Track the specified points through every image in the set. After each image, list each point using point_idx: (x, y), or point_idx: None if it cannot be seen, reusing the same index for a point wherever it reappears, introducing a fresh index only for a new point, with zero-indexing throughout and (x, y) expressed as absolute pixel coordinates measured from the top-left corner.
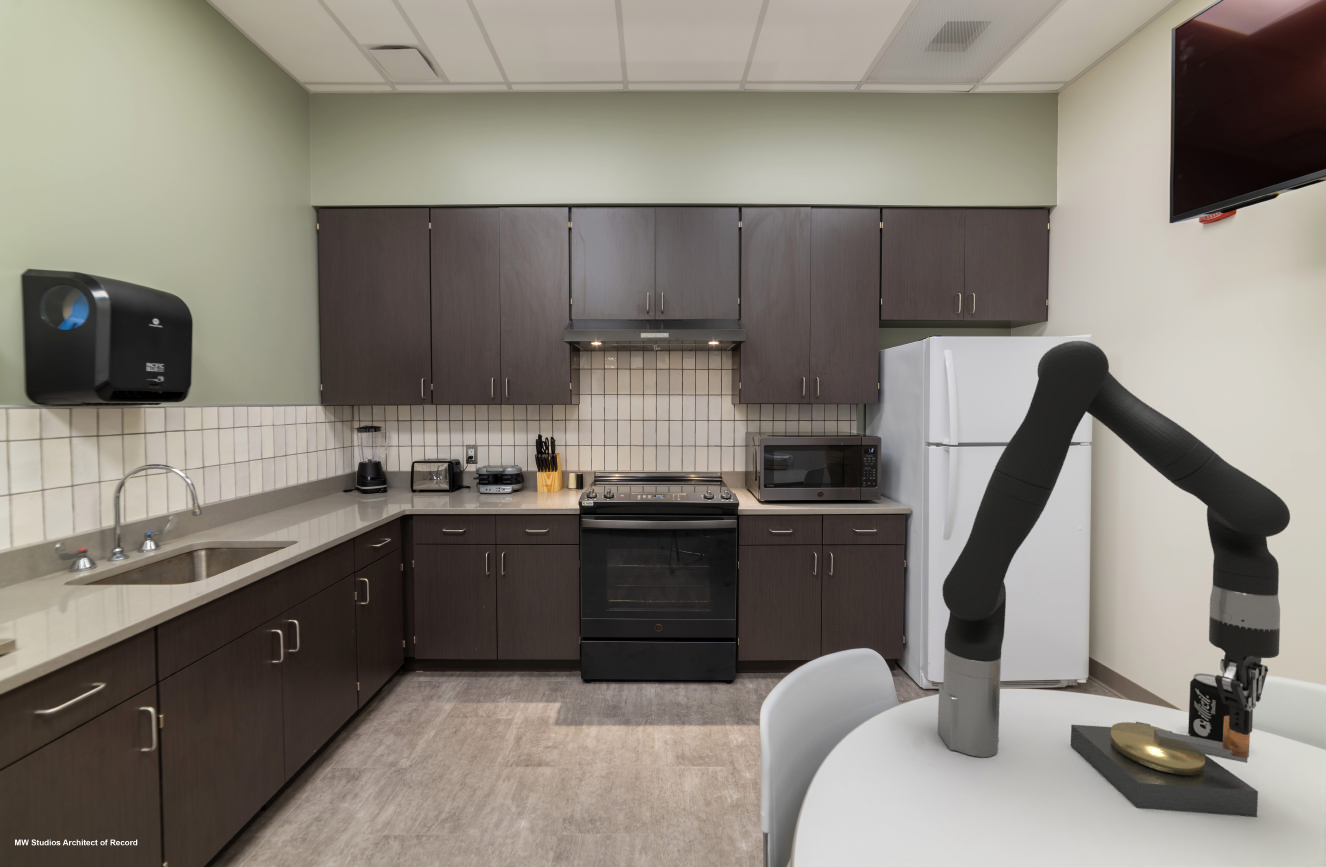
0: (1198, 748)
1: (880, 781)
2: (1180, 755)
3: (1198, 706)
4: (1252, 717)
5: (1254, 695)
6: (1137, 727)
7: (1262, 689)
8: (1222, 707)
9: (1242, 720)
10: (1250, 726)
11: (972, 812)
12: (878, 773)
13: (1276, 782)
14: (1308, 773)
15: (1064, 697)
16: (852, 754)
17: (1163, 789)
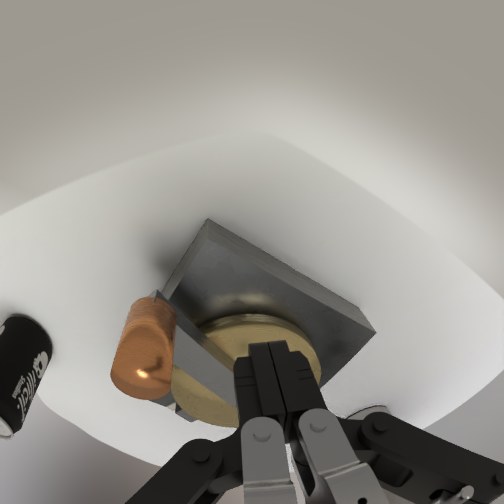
0: (218, 354)
1: (468, 385)
2: None
3: (31, 395)
4: (257, 386)
5: (347, 473)
6: (219, 415)
7: (144, 485)
8: (8, 380)
9: (316, 383)
10: (275, 359)
11: (472, 346)
12: (459, 392)
13: (42, 248)
14: None
15: (127, 449)
16: (446, 412)
17: (347, 312)
